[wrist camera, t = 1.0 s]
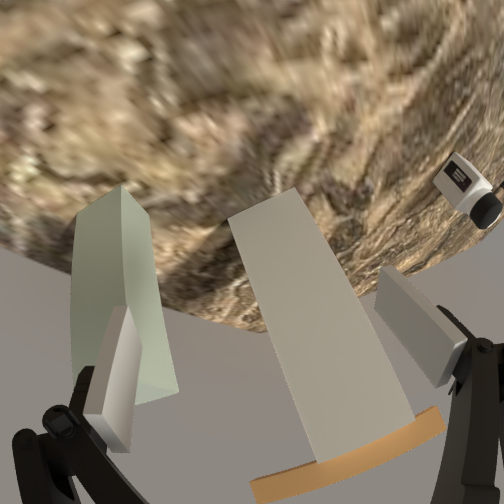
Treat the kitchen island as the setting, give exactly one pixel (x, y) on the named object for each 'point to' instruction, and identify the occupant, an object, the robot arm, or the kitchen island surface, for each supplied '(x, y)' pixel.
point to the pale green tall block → (118, 289)
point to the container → (468, 191)
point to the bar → (348, 460)
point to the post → (318, 329)
